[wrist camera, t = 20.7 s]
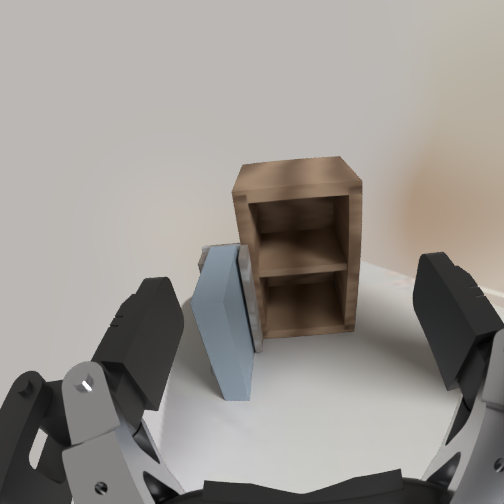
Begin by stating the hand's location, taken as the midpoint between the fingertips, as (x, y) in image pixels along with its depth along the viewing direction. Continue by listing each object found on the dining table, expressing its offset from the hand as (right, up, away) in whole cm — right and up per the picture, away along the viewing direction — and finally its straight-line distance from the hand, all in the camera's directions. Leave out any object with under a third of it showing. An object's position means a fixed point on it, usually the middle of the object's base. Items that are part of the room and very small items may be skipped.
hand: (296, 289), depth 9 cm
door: (-3, -14, +29) cm, 32 cm away
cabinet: (+4, -9, +37) cm, 38 cm away
